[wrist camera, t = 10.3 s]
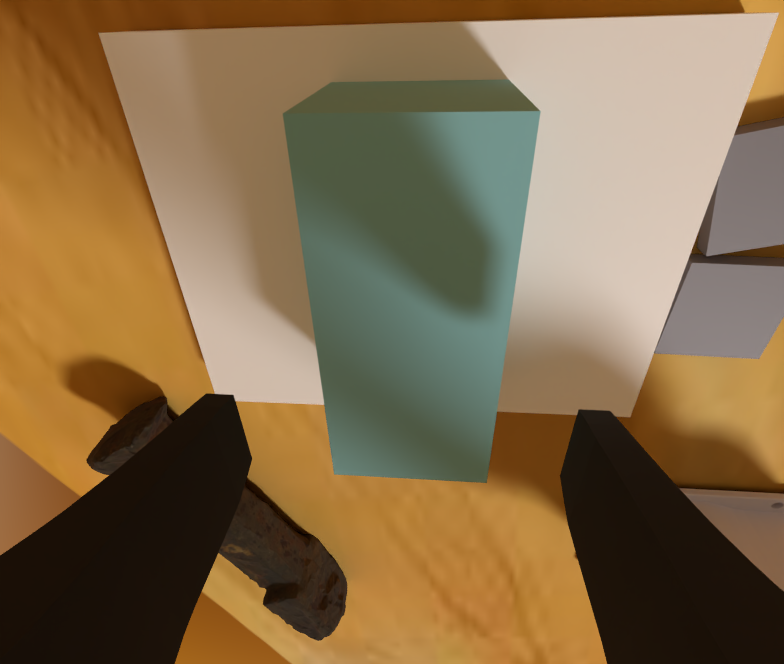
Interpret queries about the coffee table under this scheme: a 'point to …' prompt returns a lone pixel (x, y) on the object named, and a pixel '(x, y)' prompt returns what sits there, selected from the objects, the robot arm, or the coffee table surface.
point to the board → (545, 200)
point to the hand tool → (250, 537)
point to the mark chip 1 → (748, 193)
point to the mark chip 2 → (725, 307)
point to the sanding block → (412, 264)
